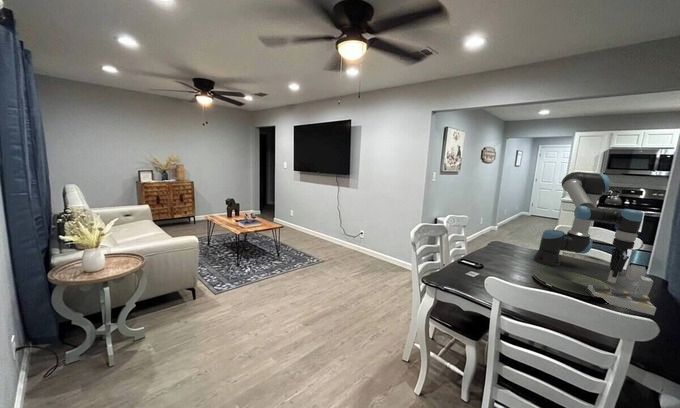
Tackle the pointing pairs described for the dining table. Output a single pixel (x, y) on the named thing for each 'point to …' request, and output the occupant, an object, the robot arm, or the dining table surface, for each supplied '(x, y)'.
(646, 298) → the rocker
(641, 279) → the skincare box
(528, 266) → the dining table surface
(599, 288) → the rocker
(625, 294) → the rocker
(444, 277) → the dining table surface
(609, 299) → the switch unit
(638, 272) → the grey box
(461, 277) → the dining table surface
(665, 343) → the dining table surface
